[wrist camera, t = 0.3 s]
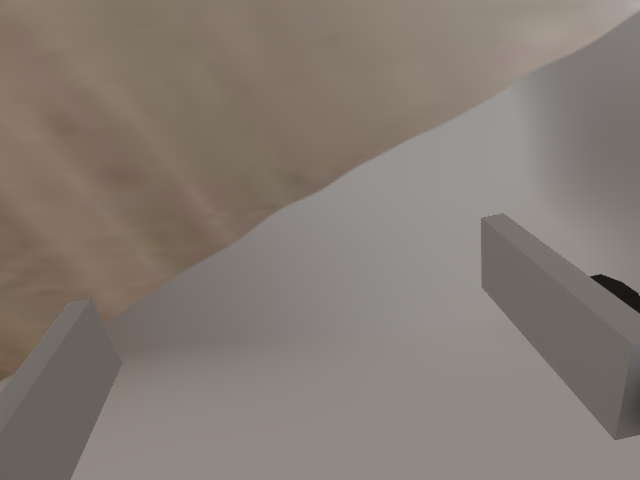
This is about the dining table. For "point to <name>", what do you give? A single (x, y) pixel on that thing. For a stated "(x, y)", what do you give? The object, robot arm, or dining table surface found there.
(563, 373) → the robot arm
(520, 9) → the dining table surface
